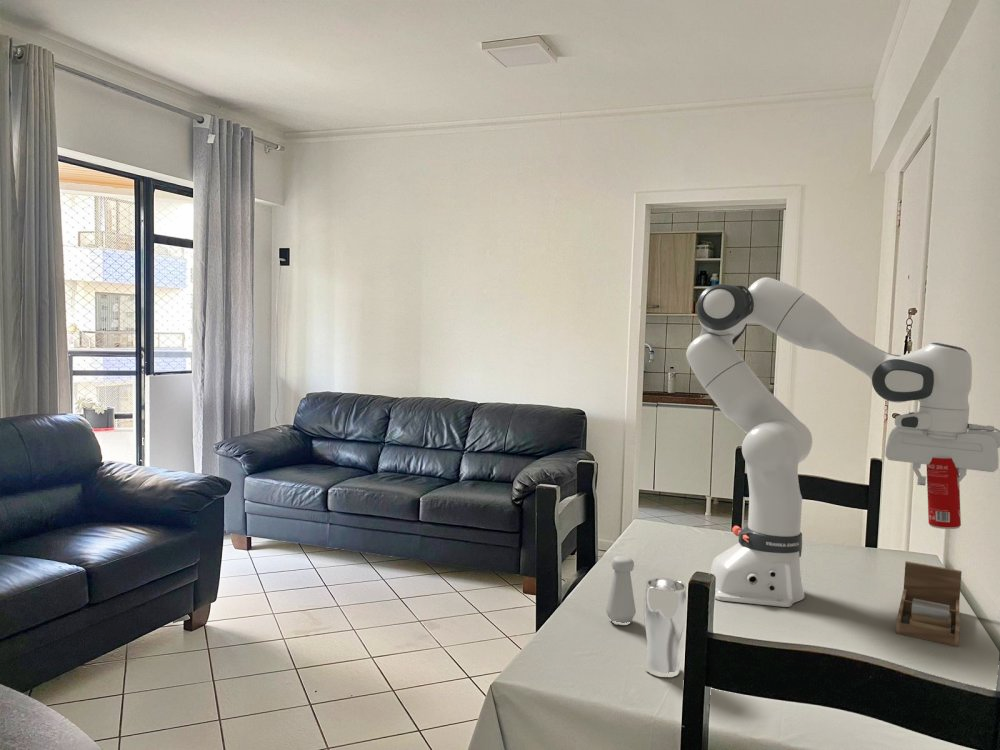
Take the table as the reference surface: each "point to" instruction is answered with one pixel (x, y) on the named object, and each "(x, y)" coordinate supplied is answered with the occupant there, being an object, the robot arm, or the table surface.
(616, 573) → the salt shaker
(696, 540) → the table surface
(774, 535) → the robot arm
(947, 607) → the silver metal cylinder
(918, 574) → the rack
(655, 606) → the beer glass
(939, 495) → the beverage can
